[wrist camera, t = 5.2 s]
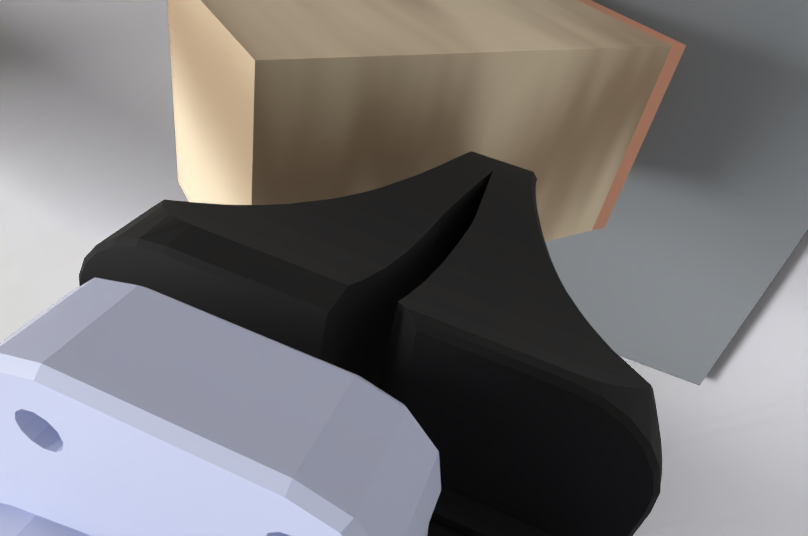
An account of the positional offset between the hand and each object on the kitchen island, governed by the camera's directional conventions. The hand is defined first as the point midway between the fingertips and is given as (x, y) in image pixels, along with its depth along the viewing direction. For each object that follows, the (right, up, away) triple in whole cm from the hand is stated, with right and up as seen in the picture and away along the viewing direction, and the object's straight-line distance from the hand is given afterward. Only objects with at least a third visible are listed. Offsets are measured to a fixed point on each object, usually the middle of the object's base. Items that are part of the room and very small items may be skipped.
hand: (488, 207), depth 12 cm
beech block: (+3, +3, +5) cm, 7 cm away
